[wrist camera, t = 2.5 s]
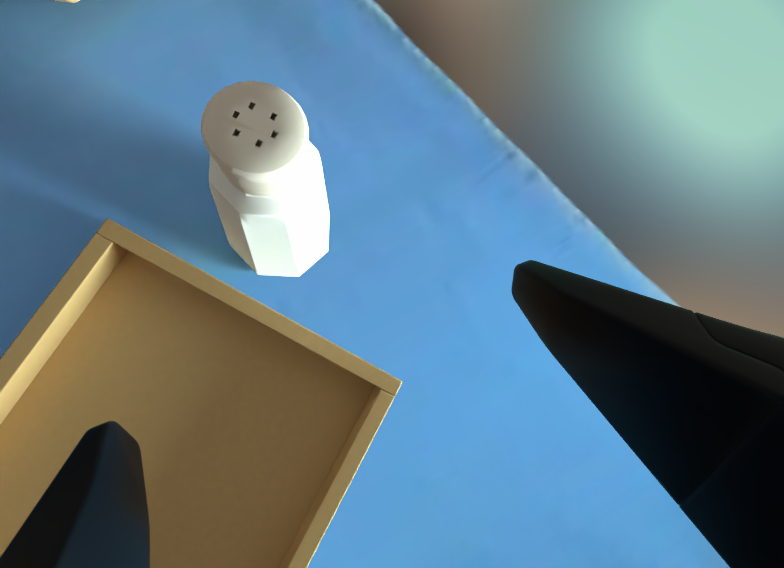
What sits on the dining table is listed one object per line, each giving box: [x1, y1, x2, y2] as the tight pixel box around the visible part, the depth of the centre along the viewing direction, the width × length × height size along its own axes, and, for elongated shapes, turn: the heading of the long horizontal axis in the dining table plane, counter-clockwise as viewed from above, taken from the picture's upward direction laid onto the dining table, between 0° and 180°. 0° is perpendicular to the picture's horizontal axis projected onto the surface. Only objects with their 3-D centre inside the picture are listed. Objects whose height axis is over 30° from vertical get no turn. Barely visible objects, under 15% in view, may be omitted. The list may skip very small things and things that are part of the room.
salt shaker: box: [201, 81, 330, 277], centre depth 16 cm, size 5×5×11 cm
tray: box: [0, 219, 402, 568], centre depth 18 cm, size 15×15×2 cm
